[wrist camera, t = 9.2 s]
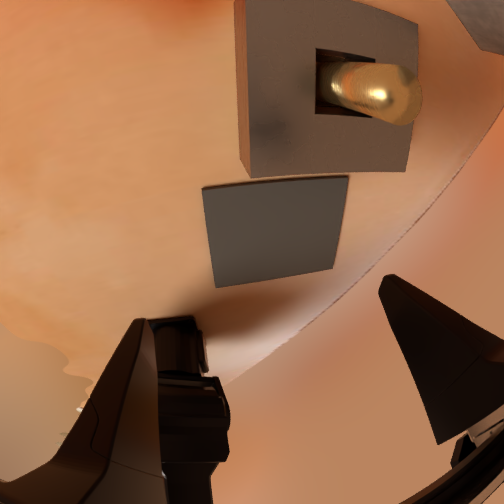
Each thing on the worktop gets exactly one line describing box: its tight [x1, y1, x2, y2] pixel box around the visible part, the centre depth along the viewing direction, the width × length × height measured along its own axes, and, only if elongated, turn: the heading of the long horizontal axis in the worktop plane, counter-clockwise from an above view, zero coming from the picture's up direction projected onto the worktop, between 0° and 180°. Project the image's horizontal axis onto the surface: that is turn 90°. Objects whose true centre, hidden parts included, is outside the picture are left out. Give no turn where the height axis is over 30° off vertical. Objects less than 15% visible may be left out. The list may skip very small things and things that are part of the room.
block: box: [234, 0, 418, 178], centre depth 15 cm, size 12×12×4 cm
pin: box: [315, 62, 422, 126], centre depth 13 cm, size 3×3×9 cm
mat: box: [202, 176, 348, 288], centre depth 23 cm, size 12×10×1 cm
